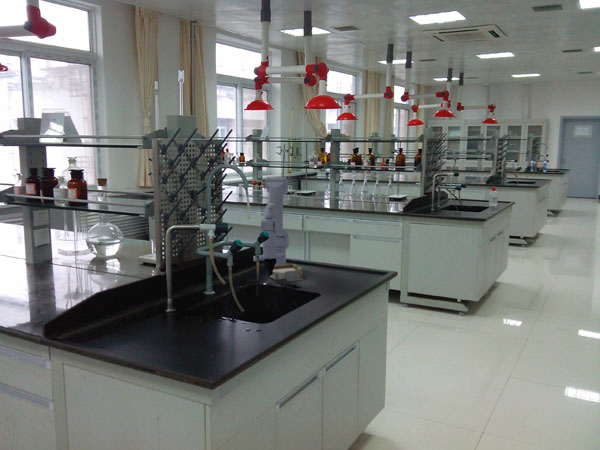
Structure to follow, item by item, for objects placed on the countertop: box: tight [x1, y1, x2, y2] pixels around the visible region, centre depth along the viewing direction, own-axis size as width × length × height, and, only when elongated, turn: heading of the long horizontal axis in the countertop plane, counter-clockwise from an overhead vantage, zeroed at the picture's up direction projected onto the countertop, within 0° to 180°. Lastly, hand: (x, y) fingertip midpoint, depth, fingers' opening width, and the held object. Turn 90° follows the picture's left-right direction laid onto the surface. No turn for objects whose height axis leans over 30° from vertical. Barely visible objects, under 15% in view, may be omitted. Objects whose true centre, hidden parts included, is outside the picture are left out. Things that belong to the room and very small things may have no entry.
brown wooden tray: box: [273, 263, 304, 279], centre depth 236 cm, size 11×12×4 cm
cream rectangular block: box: [269, 268, 295, 281], centre depth 235 cm, size 7×11×3 cm, turn 112°
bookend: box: [284, 270, 304, 282], centre depth 230 cm, size 4×7×4 cm, turn 112°
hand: (269, 275), depth 233 cm, fingers closed
